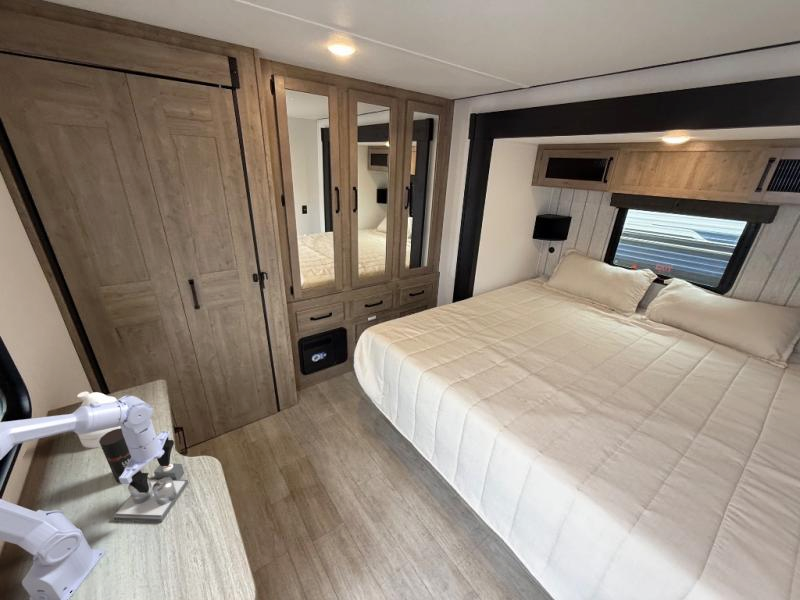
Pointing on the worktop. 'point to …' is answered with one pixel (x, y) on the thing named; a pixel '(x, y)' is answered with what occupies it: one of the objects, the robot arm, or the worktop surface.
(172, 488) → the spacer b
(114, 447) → the deodorant
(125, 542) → the worktop surface
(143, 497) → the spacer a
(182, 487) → the scale
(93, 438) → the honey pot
